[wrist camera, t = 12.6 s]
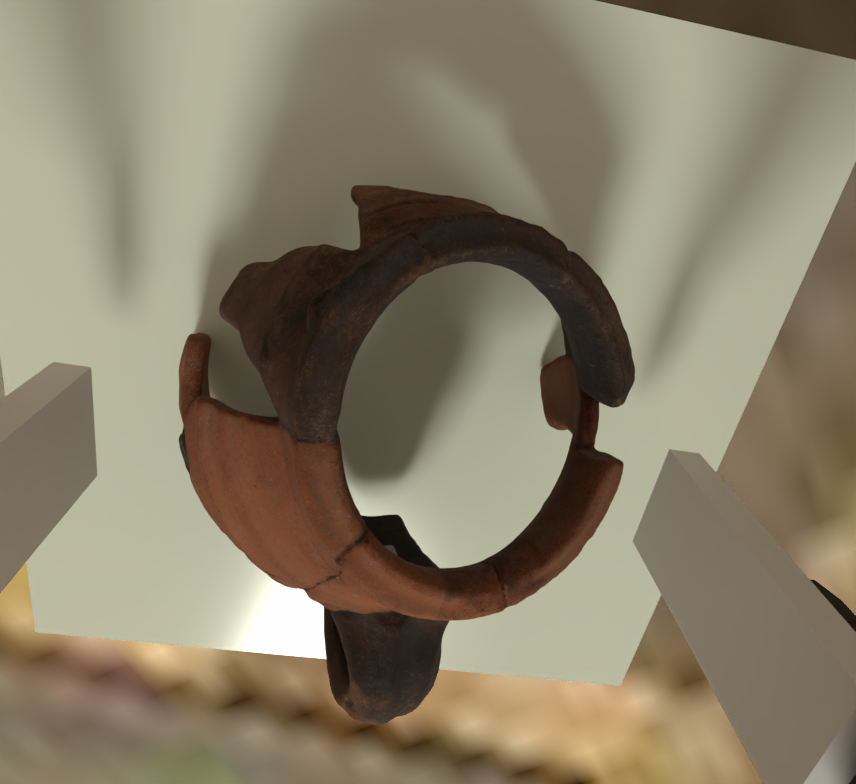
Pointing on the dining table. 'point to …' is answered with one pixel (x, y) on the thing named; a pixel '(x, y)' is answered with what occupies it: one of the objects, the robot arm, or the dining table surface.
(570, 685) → the dining table surface
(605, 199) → the sage tile
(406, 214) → the pottery mug
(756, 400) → the dining table surface
